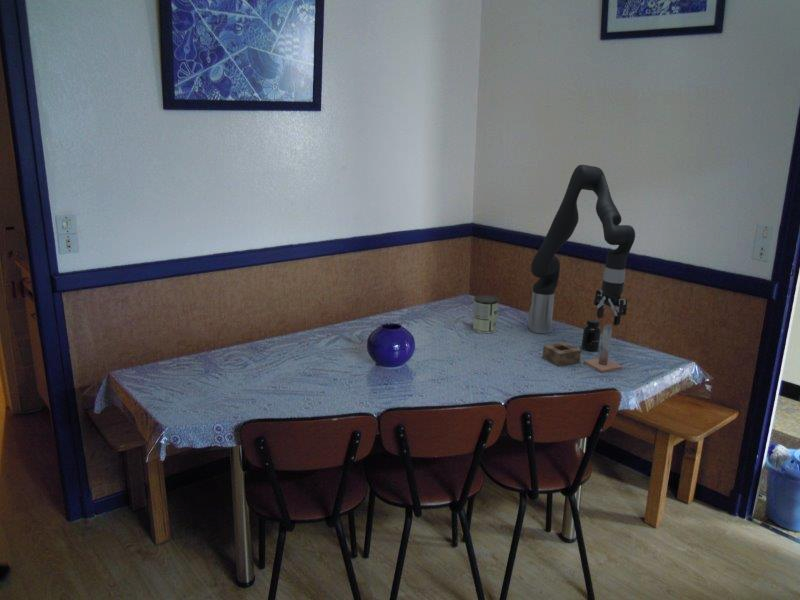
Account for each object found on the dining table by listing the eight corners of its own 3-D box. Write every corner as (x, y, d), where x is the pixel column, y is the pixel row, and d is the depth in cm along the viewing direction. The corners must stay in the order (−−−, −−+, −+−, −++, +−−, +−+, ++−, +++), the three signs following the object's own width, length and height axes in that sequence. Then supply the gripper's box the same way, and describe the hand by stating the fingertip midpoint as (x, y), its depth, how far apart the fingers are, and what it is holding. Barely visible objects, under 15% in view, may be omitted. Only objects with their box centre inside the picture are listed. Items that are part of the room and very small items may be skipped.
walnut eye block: (542, 357, 268) (543, 345, 266) (562, 353, 272) (563, 341, 271) (558, 366, 259) (560, 354, 258) (579, 362, 264) (581, 350, 262)
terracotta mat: (583, 363, 263) (583, 360, 263) (603, 359, 268) (603, 357, 267) (601, 372, 255) (602, 370, 254) (622, 368, 259) (622, 366, 259)
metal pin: (596, 362, 262) (601, 323, 257) (603, 361, 263) (608, 322, 258) (602, 365, 259) (608, 326, 254) (609, 364, 260) (614, 325, 255)
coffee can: (474, 324, 303) (476, 293, 299) (497, 326, 301) (499, 295, 297) (470, 332, 293) (472, 300, 289) (495, 334, 291) (497, 302, 287)
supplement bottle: (594, 353, 274) (598, 324, 270) (578, 349, 278) (581, 320, 274) (601, 348, 279) (604, 320, 275) (585, 344, 283) (588, 316, 279)
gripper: (592, 275, 255) (587, 316, 260) (619, 285, 243) (613, 328, 248) (607, 273, 259) (602, 314, 264) (635, 283, 247) (629, 326, 251)
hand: (607, 321), depth 256 cm, fingers open, 8 cm apart
